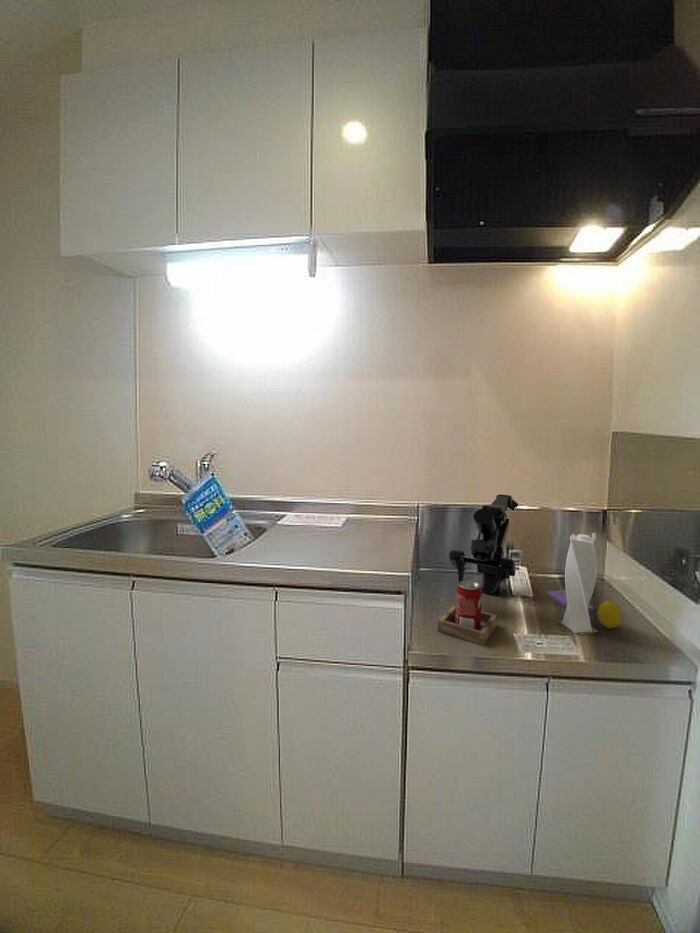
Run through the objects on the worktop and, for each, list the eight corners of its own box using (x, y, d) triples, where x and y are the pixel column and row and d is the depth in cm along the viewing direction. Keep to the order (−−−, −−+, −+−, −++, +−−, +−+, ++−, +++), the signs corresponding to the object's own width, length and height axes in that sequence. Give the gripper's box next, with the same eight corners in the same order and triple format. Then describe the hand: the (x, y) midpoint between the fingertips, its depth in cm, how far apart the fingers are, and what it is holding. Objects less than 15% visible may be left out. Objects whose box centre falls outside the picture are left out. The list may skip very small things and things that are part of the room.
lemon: (617, 625, 119) (619, 598, 118) (622, 635, 114) (625, 606, 113) (594, 622, 121) (596, 595, 120) (599, 631, 116) (601, 603, 115)
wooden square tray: (454, 613, 126) (454, 604, 125) (496, 625, 119) (497, 615, 118) (437, 631, 116) (437, 620, 115) (483, 645, 109) (483, 634, 108)
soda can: (475, 635, 113) (476, 591, 111) (451, 627, 117) (452, 585, 115) (484, 625, 118) (485, 583, 117) (460, 618, 122) (462, 577, 121)
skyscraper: (601, 635, 114) (610, 533, 110) (574, 637, 112) (582, 534, 109) (580, 620, 122) (587, 525, 119) (554, 622, 121) (560, 526, 117)
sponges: (566, 595, 140) (566, 589, 140) (593, 612, 128) (594, 606, 128) (546, 596, 139) (547, 591, 139) (572, 614, 127) (573, 608, 127)
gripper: (451, 524, 130) (438, 570, 122) (516, 532, 121) (506, 583, 113) (458, 542, 138) (446, 586, 130) (519, 551, 128) (510, 600, 120)
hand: (475, 588), depth 123 cm, fingers open, 9 cm apart
